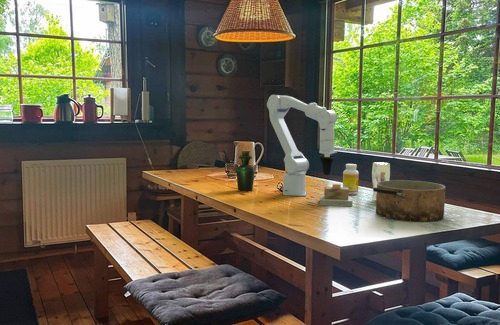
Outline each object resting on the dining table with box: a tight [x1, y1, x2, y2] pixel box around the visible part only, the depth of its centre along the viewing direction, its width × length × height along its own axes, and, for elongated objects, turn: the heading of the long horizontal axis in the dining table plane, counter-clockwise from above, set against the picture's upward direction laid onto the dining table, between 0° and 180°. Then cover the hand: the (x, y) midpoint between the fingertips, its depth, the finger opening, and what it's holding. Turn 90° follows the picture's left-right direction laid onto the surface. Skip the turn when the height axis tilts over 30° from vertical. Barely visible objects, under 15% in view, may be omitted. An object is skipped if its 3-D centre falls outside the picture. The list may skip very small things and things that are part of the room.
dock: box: [319, 194, 353, 207], centre depth 184 cm, size 12×10×2 cm
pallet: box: [323, 186, 349, 200], centre depth 184 cm, size 9×5×4 cm, turn 82°
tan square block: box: [331, 182, 342, 189], centre depth 184 cm, size 3×3×2 cm
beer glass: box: [371, 161, 391, 202], centre depth 192 cm, size 7×7×15 cm
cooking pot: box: [372, 179, 446, 223], centre depth 164 cm, size 30×22×11 cm
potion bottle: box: [235, 149, 255, 192], centre depth 211 cm, size 8×8×18 cm
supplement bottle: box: [342, 163, 360, 196], centre depth 206 cm, size 7×7×13 cm
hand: (326, 173), depth 192 cm, fingers open, 7 cm apart
